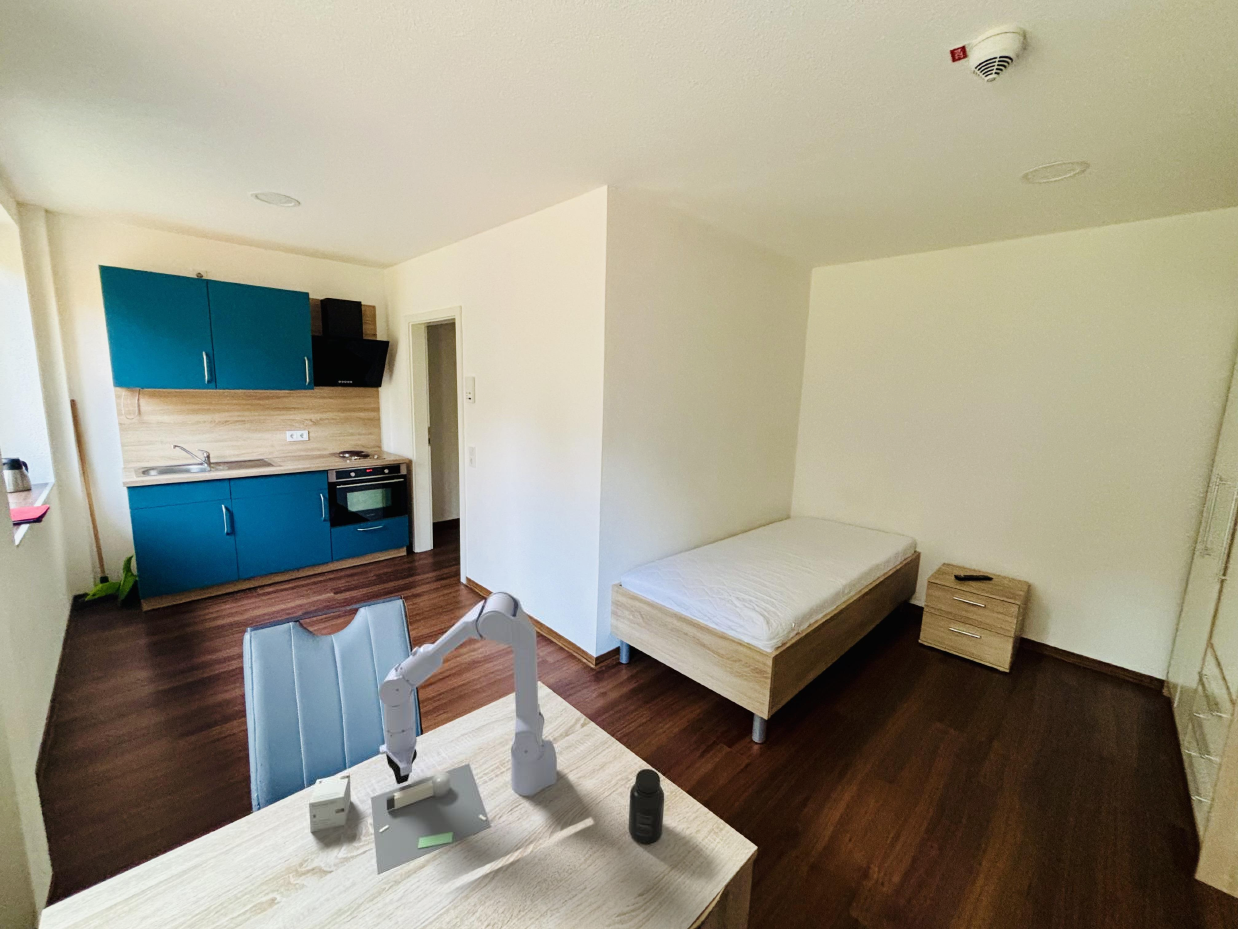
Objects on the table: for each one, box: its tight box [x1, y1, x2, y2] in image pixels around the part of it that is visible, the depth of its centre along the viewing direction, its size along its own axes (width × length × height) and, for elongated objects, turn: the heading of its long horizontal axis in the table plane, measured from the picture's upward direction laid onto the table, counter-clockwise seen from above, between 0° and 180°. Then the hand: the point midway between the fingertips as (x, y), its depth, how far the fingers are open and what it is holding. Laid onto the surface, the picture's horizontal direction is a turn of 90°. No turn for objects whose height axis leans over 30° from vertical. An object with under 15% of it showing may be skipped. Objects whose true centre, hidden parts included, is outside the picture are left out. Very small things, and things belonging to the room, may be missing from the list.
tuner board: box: [370, 763, 492, 875], centre depth 98 cm, size 20×18×1 cm
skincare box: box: [308, 773, 352, 833], centre depth 96 cm, size 6×6×7 cm
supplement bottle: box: [628, 768, 665, 846], centre depth 96 cm, size 7×7×12 cm
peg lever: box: [386, 771, 450, 810], centre depth 101 cm, size 12×4×3 cm, turn 120°
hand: (402, 780), depth 104 cm, fingers closed
